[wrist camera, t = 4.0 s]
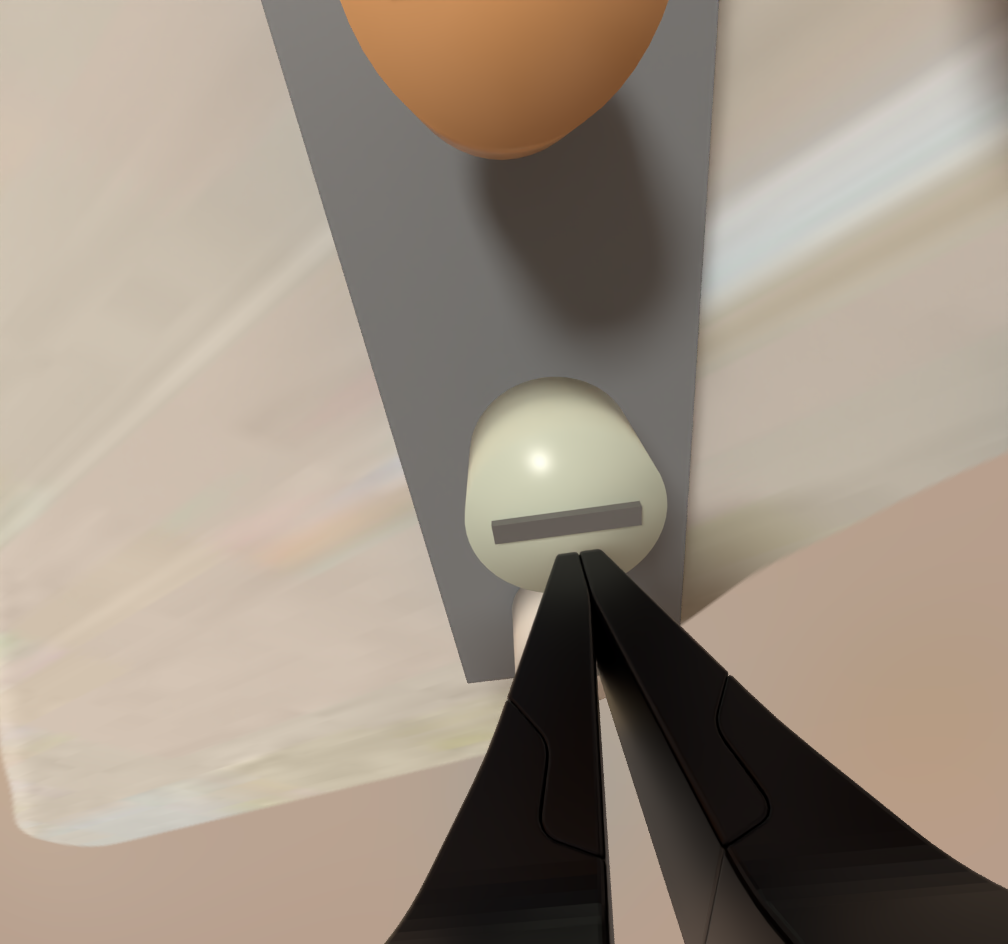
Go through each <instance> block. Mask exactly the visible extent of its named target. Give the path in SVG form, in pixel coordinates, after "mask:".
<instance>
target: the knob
mask: <svg viewBox="0 0 1008 944" xmlns="http://www.w3.org/2000/svg"><path fill="white" fill-rule="evenodd" d="M340 2H341V4H342V7H343V9H344V12H345V14H346V17H347V19H348V22H349V24H350V26H351V28H352V30H353V32H354V34H355V36H356V38H357V40H358V42H359V44H360V46H361V48H362V50H363V52H364V53H365V55H366V56H367V58H368V59H369V61H370V62H371V64H372V65H373V67H374V69H375V70H376V72H377V73H378V74H379V76H380V77H381V78H382V79H383V81H384V82H385V83H386V84H387V86H388V87H389V88H390V89H391V91H392V92H393V93H394V94H395V95H396V96H397V97H398V98H399V99H400V100H401V101H402V102H403V103H404V104H405V105H406V106H407V107H408V108H409V109H410V110H411V111H412V112H413V113H414V114H415V115H416V116H417V117H418V118H419V120H420V121H421V122H422V123H424V124H425V125H426V126H427V127H428V128H429V129H430V130H431V131H432V132H433V133H434V134H435V135H436V136H438V137H439V138H440V139H442V140H443V141H444V142H446V143H447V144H449V145H451V146H453V147H454V148H456V149H458V150H460V151H462V152H465V153H468V154H470V155H473V156H476V157H481V158H486V159H494V160H508V159H518V158H522V157H525V156H529V155H532V154H535V153H537V152H540V151H542V150H544V149H546V148H548V147H549V146H551V145H553V144H554V143H556V142H558V141H559V140H561V139H562V138H563V137H565V136H566V135H567V134H569V133H570V132H571V131H573V130H574V129H575V128H577V127H578V126H579V125H581V124H582V123H583V122H585V121H586V120H587V119H588V118H589V117H591V116H592V115H593V114H594V113H596V112H597V111H598V110H599V109H601V108H602V107H603V106H604V105H605V104H606V103H607V102H608V101H609V100H610V99H611V98H612V97H613V96H614V94H615V93H616V92H617V91H618V90H619V89H620V88H621V87H622V85H623V84H624V83H625V81H626V80H627V79H628V77H629V76H630V75H631V73H632V72H633V71H634V70H635V68H636V66H637V65H638V63H639V61H640V60H641V58H642V57H643V55H644V53H645V52H646V50H647V48H648V47H649V45H650V43H651V41H652V39H653V36H654V34H655V32H656V30H657V28H658V26H659V24H660V22H661V20H662V17H663V14H664V11H665V9H666V6H667V3H668V0H340Z"/></svg>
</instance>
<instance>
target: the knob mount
mask: <svg viewBox="0 0 1008 944" xmlns="http://www.w3.org/2000/svg"><path fill="white" fill-rule="evenodd" d="M261 2H262V5H263V9H264V12H265V15H266V18H267V22H268V25H269V28H270V32H271V35H272V38H273V42H274V45H275V48H276V52H277V55H278V58H279V61H280V65H281V68H282V71H283V75H284V78H285V81H286V85H287V88H288V91H289V94H290V98H291V101H292V104H293V108H294V111H295V114H296V118H297V121H298V124H299V128H300V131H301V134H302V137H303V141H304V144H305V147H306V151H307V154H308V157H309V161H310V164H311V167H312V171H313V174H314V177H315V180H316V184H317V187H318V190H319V194H320V197H321V200H322V204H323V207H324V210H325V214H326V217H327V220H328V223H329V227H330V230H331V233H332V237H333V240H334V243H335V247H336V250H337V253H338V256H339V260H340V263H341V266H342V270H343V273H344V276H345V280H346V283H347V286H348V290H349V293H350V296H351V299H352V303H353V306H354V309H355V313H356V316H357V319H358V323H359V326H360V329H361V333H362V336H363V339H364V342H365V346H366V349H367V352H368V356H369V359H370V362H371V366H372V369H373V372H374V376H375V379H376V382H377V385H378V389H379V392H380V395H381V399H382V402H383V405H384V409H385V412H386V415H387V418H388V422H389V425H390V428H391V432H392V435H393V438H394V442H395V445H396V448H397V452H398V455H399V458H400V461H401V465H402V468H403V471H404V475H405V478H406V481H407V485H408V488H409V491H410V495H411V498H412V501H413V504H414V508H415V511H416V514H417V518H418V521H419V524H420V528H421V531H422V534H423V538H424V541H425V544H426V547H427V551H428V554H429V557H430V561H431V564H432V567H433V571H434V574H435V577H436V580H437V584H438V587H439V590H440V594H441V597H442V600H443V604H444V607H445V610H446V614H447V617H448V620H449V623H450V627H451V630H452V633H453V637H454V640H455V643H456V647H457V650H458V653H459V657H460V660H461V663H462V666H463V670H464V673H465V676H466V680H467V683H475V682H483V681H492V680H501V679H509V678H514V677H515V657H514V638H513V618H512V604H513V600H514V597H515V595H516V593H517V592H518V590H519V589H520V587H517V586H515V585H513V584H510V583H508V582H506V581H504V580H503V579H501V578H499V577H498V576H496V575H495V574H494V573H492V572H491V571H490V570H489V569H487V567H486V566H485V565H484V564H483V563H482V562H481V561H480V560H479V558H478V557H477V556H476V554H475V553H474V551H473V549H472V547H471V545H470V543H469V540H468V537H467V534H466V528H465V505H466V492H467V480H468V467H469V455H470V445H471V439H472V435H473V432H474V429H475V427H476V424H477V422H478V420H479V418H480V417H481V415H482V414H483V413H484V411H485V410H486V409H487V407H488V406H489V405H490V404H491V403H492V402H493V401H494V400H495V399H497V398H498V397H499V396H500V395H501V394H503V393H504V392H506V391H507V390H509V389H511V388H513V387H515V386H517V385H519V384H521V383H524V382H527V381H530V380H534V379H539V378H545V377H567V378H573V379H578V380H581V381H584V382H587V383H589V384H592V385H594V386H596V387H598V388H599V389H601V390H602V391H604V392H605V393H607V394H608V395H609V396H610V397H611V398H612V399H613V400H614V401H615V402H616V403H617V404H618V406H619V407H620V408H621V410H622V412H623V413H624V415H625V417H626V418H627V420H628V422H629V423H630V425H631V427H632V428H633V430H634V432H635V433H636V435H637V437H638V438H639V440H640V442H641V443H642V445H643V447H644V448H645V450H646V452H647V453H648V455H649V457H650V458H651V460H652V462H653V463H654V465H655V467H656V468H657V470H658V472H659V473H660V475H661V477H662V480H663V482H664V485H665V489H666V494H667V514H666V520H665V523H664V527H663V529H662V532H661V534H660V536H659V538H658V540H657V542H656V543H655V545H654V547H653V548H652V549H651V550H650V552H649V553H648V554H647V555H646V557H645V558H644V559H643V560H642V561H641V562H640V563H638V564H637V565H636V566H635V567H634V568H632V569H631V570H630V571H629V572H627V573H626V574H627V575H628V576H629V577H630V578H631V579H632V580H633V581H634V582H635V583H636V584H637V585H638V586H640V587H641V588H642V589H643V590H644V591H645V592H646V593H647V594H648V595H649V596H650V597H651V598H652V599H653V600H654V601H655V602H656V603H657V604H658V605H659V606H660V607H661V608H662V609H663V610H664V611H665V612H666V613H667V614H668V615H670V616H671V617H672V618H673V619H674V620H675V621H676V622H677V623H678V624H679V625H680V620H681V604H682V588H683V572H684V556H685V540H686V523H687V507H688V491H689V475H690V459H691V443H692V427H693V411H694V394H695V378H696V362H697V346H698V330H699V314H700V298H701V282H702V265H703V249H704V233H705V217H706V201H707V185H708V169H709V152H710V136H711V120H712V104H713V88H714V72H715V56H716V40H717V23H718V7H719V0H668V3H667V6H666V9H665V11H664V14H663V17H662V20H661V22H660V24H659V26H658V28H657V30H656V32H655V34H654V36H653V39H652V41H651V43H650V45H649V47H648V48H647V50H646V52H645V53H644V55H643V57H642V58H641V60H640V61H639V63H638V65H637V66H636V68H635V70H634V71H633V72H632V73H631V75H630V76H629V77H628V79H627V80H626V81H625V83H624V84H623V85H622V87H621V88H620V89H619V90H618V91H617V92H616V93H615V94H614V96H613V97H612V98H611V99H610V100H609V101H608V102H607V103H606V104H605V105H604V106H603V107H602V108H601V109H599V110H598V111H597V112H596V113H594V114H593V115H592V116H591V117H589V118H588V119H587V120H586V121H585V122H583V123H582V124H581V125H579V126H578V127H577V128H575V129H574V130H573V131H571V132H570V133H569V134H567V135H566V136H565V137H563V138H562V139H561V140H559V141H558V142H556V143H554V144H553V145H551V146H549V147H548V148H546V149H544V150H542V151H540V152H537V153H535V154H532V155H529V156H525V157H522V158H518V159H508V160H494V159H486V158H481V157H476V156H473V155H470V154H468V153H465V152H462V151H460V150H458V149H456V148H454V147H453V146H451V145H449V144H447V143H446V142H444V141H443V140H442V139H440V138H439V137H438V136H436V135H435V134H434V133H433V132H432V131H431V130H430V129H429V128H428V127H427V126H426V125H425V124H424V123H422V122H421V121H420V120H419V118H418V117H417V116H416V115H415V114H414V113H413V112H412V111H411V110H410V109H409V108H408V107H407V106H406V105H405V104H404V103H403V102H402V101H401V100H400V99H399V98H398V97H397V96H396V95H395V94H394V93H393V92H392V91H391V89H390V88H389V87H388V86H387V84H386V83H385V82H384V81H383V79H382V78H381V77H380V76H379V74H378V73H377V72H376V70H375V69H374V67H373V65H372V64H371V62H370V61H369V59H368V58H367V56H366V55H365V53H364V52H363V50H362V48H361V46H360V44H359V42H358V40H357V38H356V36H355V34H354V32H353V30H352V28H351V26H350V24H349V22H348V19H347V17H346V14H345V12H344V9H343V7H342V4H341V2H340V0H261Z"/></svg>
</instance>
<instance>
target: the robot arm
mask: <svg viewBox="0 0 1008 944" xmlns="http://www.w3.org/2000/svg"><path fill="white" fill-rule="evenodd" d="M596 664H597V667H596ZM597 669H598V672H599V676H600V679H601V683H602V686H603V689H604V692H605V695H606V698H607V701H608V705H609V708H610V711H611V714H612V717H613V720H614V723H615V727H616V730H617V733H618V736H619V739H620V742H621V745H622V748H623V752H624V755H625V758H626V761H627V764H628V767H629V770H630V773H631V777H632V780H633V783H634V786H635V789H636V792H637V795H638V799H639V802H640V805H641V808H642V811H643V814H644V817H645V821H646V824H647V826H648V830H649V833H650V836H651V839H652V843H653V846H654V849H655V852H656V855H657V858H658V861H659V865H660V868H661V871H662V874H663V877H664V880H665V883H666V886H667V890H668V893H669V896H670V899H671V902H672V905H673V908H674V911H675V914H676V918H677V920H678V924H679V927H680V930H681V933H682V937H683V939H684V943H685V944H1008V889H1006V888H1004V887H1002V886H1000V885H998V884H996V883H994V882H992V881H990V880H989V879H987V878H985V877H983V876H982V875H979V874H978V873H976V872H974V871H972V870H971V869H969V868H968V867H966V866H965V865H963V864H961V863H960V862H958V861H957V860H955V859H953V858H952V857H951V856H949V855H948V854H946V853H945V852H943V851H942V850H940V849H939V848H938V847H936V846H935V845H933V844H932V843H931V842H929V841H928V840H927V839H925V838H924V837H923V836H921V835H920V834H919V833H918V832H916V831H915V830H914V829H912V828H911V827H910V826H909V825H907V824H906V823H905V822H904V821H902V820H901V819H900V818H899V817H898V816H896V815H895V814H894V813H893V812H891V811H890V810H889V809H887V808H886V807H885V806H884V805H883V804H881V803H880V802H879V801H878V800H876V799H875V798H874V797H873V796H871V795H870V794H869V793H868V792H866V791H865V790H864V789H863V788H861V787H860V786H859V785H858V784H857V783H855V782H854V781H853V780H851V779H850V778H849V777H848V776H847V775H845V774H844V773H843V772H841V771H840V770H839V769H838V768H837V767H835V766H834V765H833V764H832V763H830V762H829V761H828V760H827V759H825V758H824V757H823V756H822V755H820V754H819V753H818V752H817V751H816V750H814V749H813V748H812V747H811V746H809V745H808V744H807V743H806V742H805V741H804V740H802V739H801V738H800V737H798V735H796V734H795V733H794V732H793V731H792V730H790V729H789V728H788V727H787V726H786V725H784V724H783V723H782V722H781V721H780V720H778V719H777V718H776V717H775V716H774V715H773V714H772V713H771V712H770V711H769V710H767V708H765V707H764V706H763V705H762V704H761V703H760V702H759V701H758V700H757V699H755V697H754V696H752V695H751V694H750V693H749V692H748V691H747V690H746V689H745V688H744V687H743V686H742V685H741V684H740V683H739V682H738V681H737V680H736V679H735V678H734V677H733V676H731V675H729V676H728V672H727V671H726V670H725V669H724V668H723V667H722V666H721V665H720V664H719V663H718V662H717V661H716V660H715V659H714V658H713V657H712V656H711V655H710V654H709V653H708V652H707V651H706V650H705V649H704V648H703V647H702V646H700V645H699V644H698V643H697V642H696V641H695V640H694V639H693V638H692V637H691V636H690V635H689V634H688V633H687V632H686V631H685V630H684V629H683V628H682V627H681V626H680V625H679V624H678V623H677V622H676V621H675V620H674V619H673V618H672V617H671V616H670V615H668V614H667V613H666V612H665V611H664V610H663V609H662V608H661V607H660V606H659V605H658V604H657V603H656V602H655V601H654V600H653V599H652V598H651V597H650V596H649V595H648V594H647V593H646V592H645V591H644V590H643V589H642V588H641V587H640V586H638V585H637V584H636V583H635V582H634V581H633V580H632V579H631V578H630V577H629V576H628V575H627V574H626V573H625V572H624V571H623V570H622V569H621V568H620V567H619V566H618V565H617V564H616V563H615V562H614V561H613V560H612V559H611V558H610V557H608V556H607V555H606V554H605V553H604V552H603V551H602V550H600V549H593V550H585V551H581V552H580V554H578V553H577V552H570V553H562V554H558V555H557V556H556V558H555V561H554V564H553V567H552V569H551V572H550V575H549V578H548V581H547V584H546V587H545V590H544V593H543V595H542V598H541V601H540V604H539V607H538V610H537V613H536V616H535V619H534V622H533V624H532V627H531V630H530V633H529V636H528V639H527V642H526V645H525V648H524V650H523V653H522V656H521V659H520V662H519V665H518V668H517V671H516V674H515V677H514V679H513V682H512V685H511V688H510V691H509V694H508V700H507V701H506V702H505V705H504V708H503V710H502V713H501V716H500V719H499V722H498V725H497V727H496V730H495V732H494V735H493V738H492V740H491V743H490V745H489V748H488V751H487V753H486V755H485V757H484V760H483V762H482V764H481V766H480V769H479V771H478V773H477V775H476V777H475V779H474V782H473V784H472V786H471V788H470V790H469V792H468V794H467V796H466V798H465V800H464V802H463V804H462V806H461V808H460V810H459V812H458V815H457V817H456V819H455V821H454V823H453V825H452V827H451V829H450V831H449V833H448V835H447V837H446V839H445V841H444V843H443V845H442V847H441V849H440V851H439V853H438V855H437V857H436V859H435V861H434V863H433V865H432V867H431V869H430V871H429V873H428V875H427V877H426V879H425V881H424V883H423V885H422V887H421V889H420V891H419V893H418V894H417V896H416V898H415V900H414V901H413V903H412V905H411V907H410V908H409V910H408V911H407V913H406V914H405V916H404V918H403V919H402V921H401V922H400V924H399V925H398V927H397V928H396V929H395V931H394V932H393V933H392V935H391V936H390V937H389V938H388V940H387V941H386V943H385V944H615V943H614V929H613V913H612V898H611V883H610V866H609V850H608V835H607V819H606V804H605V789H604V773H603V757H602V742H601V726H600V712H599V695H598V680H597Z"/></svg>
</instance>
